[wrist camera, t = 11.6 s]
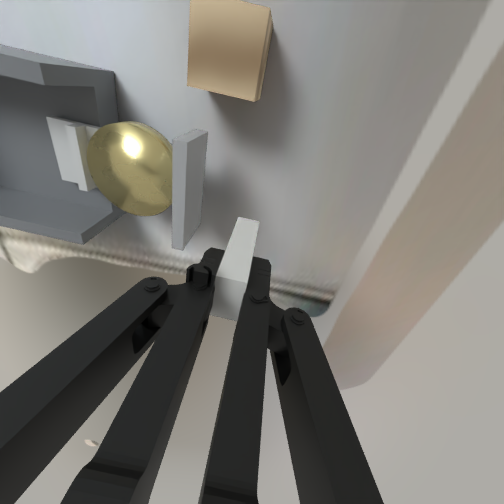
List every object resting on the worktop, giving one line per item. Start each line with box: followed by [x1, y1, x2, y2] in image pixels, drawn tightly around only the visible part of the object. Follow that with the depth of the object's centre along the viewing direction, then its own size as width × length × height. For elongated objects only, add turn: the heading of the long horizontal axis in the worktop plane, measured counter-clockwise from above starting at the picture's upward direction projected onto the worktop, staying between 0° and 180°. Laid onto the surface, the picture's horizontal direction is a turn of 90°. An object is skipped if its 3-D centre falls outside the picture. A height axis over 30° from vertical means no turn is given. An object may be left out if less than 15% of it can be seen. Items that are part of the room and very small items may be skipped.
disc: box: [87, 121, 173, 216], centre depth 22 cm, size 8×8×2 cm
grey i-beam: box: [46, 116, 208, 251], centre depth 21 cm, size 9×14×5 cm, turn 79°
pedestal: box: [187, 0, 273, 102], centre depth 18 cm, size 5×5×5 cm
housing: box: [0, 44, 126, 245], centre depth 22 cm, size 14×16×8 cm
